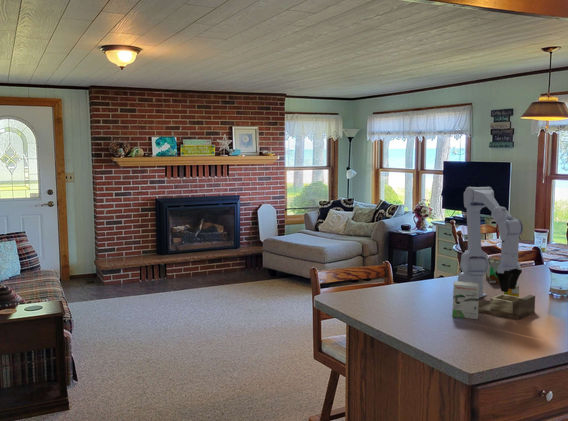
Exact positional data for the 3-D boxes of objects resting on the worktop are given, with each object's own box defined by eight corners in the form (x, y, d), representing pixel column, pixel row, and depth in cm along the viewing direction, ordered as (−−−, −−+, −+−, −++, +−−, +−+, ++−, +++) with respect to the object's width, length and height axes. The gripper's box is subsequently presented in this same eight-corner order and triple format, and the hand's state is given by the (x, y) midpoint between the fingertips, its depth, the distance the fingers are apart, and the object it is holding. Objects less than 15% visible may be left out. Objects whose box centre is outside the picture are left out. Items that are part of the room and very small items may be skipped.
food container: (504, 285, 240) (505, 263, 239) (489, 285, 241) (490, 262, 240) (499, 279, 252) (500, 258, 251) (485, 279, 253) (486, 257, 252)
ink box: (452, 317, 191) (453, 283, 190) (452, 313, 196) (453, 280, 195) (478, 319, 189) (479, 285, 188) (477, 315, 194) (478, 282, 192)
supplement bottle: (500, 300, 214) (501, 276, 214) (514, 300, 215) (515, 275, 214) (507, 304, 209) (508, 278, 208) (521, 303, 210) (522, 278, 209)
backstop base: (465, 308, 202) (466, 292, 201) (483, 302, 212) (483, 286, 211) (518, 319, 188) (519, 302, 188) (534, 312, 198) (535, 295, 197)
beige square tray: (489, 308, 198) (490, 298, 197) (500, 304, 204) (501, 293, 204) (514, 313, 191) (515, 302, 191) (525, 309, 198) (525, 298, 197)
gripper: (512, 256, 188) (510, 295, 189) (529, 251, 198) (527, 288, 199) (492, 254, 193) (490, 292, 194) (509, 249, 203) (508, 285, 204)
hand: (508, 290), depth 197 cm, fingers open, 5 cm apart
